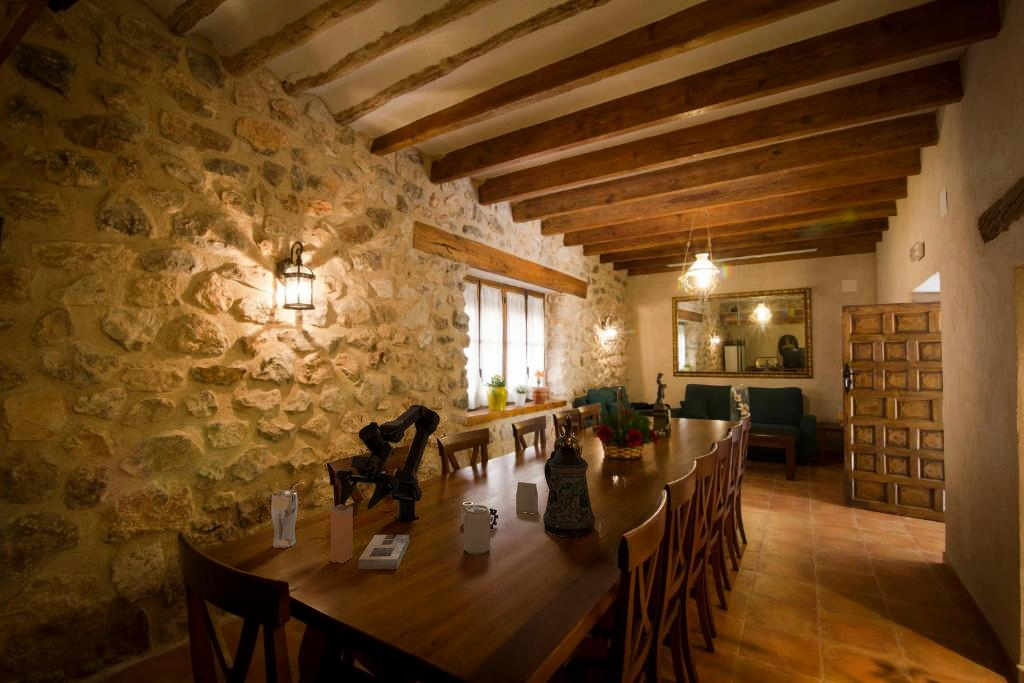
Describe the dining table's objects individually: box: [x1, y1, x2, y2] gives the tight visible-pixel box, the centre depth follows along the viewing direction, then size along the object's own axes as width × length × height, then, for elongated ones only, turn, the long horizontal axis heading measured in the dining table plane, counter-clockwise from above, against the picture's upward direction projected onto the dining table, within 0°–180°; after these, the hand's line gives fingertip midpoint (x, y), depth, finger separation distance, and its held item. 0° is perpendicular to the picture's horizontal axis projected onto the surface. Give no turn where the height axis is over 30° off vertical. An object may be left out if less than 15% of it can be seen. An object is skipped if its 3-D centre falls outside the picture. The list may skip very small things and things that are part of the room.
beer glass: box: [271, 489, 299, 549], centre depth 141 cm, size 7×7×15 cm
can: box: [463, 504, 491, 556], centre depth 137 cm, size 8×8×12 cm
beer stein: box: [542, 446, 596, 538], centre depth 154 cm, size 16×19×25 cm
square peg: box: [329, 503, 354, 564], centre depth 131 cm, size 4×4×14 cm
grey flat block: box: [357, 534, 410, 570], centre depth 133 cm, size 16×10×3 cm, turn 1°
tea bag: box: [515, 481, 539, 515], centre depth 169 cm, size 4×7×10 cm, turn 67°
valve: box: [461, 501, 499, 530], centre depth 156 cm, size 7×7×12 cm
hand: (354, 507), depth 136 cm, fingers open, 9 cm apart
